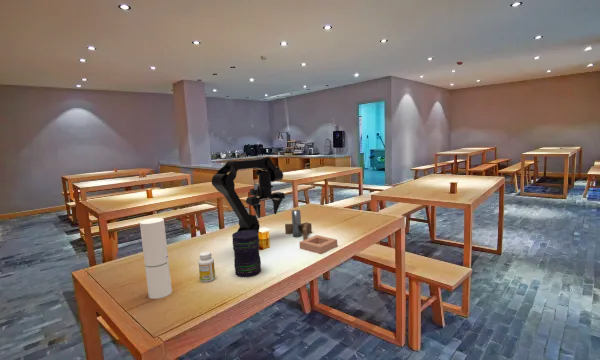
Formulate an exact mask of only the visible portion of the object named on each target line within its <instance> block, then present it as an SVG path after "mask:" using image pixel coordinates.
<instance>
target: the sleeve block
mask: <svg viewBox="0 0 600 360" xmlns="http://www.w3.org/2000/svg"><path fill="white" fill-rule="evenodd" d="M336 247H338V239H336V238H333V237H327V236H323V235H317V234H315V235H314V236H310V237H307V239H306V240H301V241H299V249H301V250H304V251H308V252H311V253H315V254H318V255H319V254H320V255H321V254H324V253H326V252H328V251H330V250H332V249H335V248H336Z"/></svg>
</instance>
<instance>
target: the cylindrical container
mask: <svg viewBox="0 0 600 360" xmlns="http://www.w3.org/2000/svg"><path fill="white" fill-rule="evenodd" d="M165 227H166V225H165V220H164V217H163V218H162V217H153V218H152V217H151V218H148V219H143V220H141V221H140V222H139V229H140V236H141V237H140V238H141V245H142V252H143V260H144V261H143V262H144V270H145V276H146V278H145V279H146V285H147V294H148V298H149V299H150V300H151V299H152V300H158V299H163V298H167V297H168V296H170V295H171V294H172V293H173V290H172V289H173V287H172V281H171V270H170V262H169V251H168V245H167V244H168V243H167V234H166V228H165Z"/></svg>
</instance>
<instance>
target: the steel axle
mask: <svg viewBox="0 0 600 360" xmlns="http://www.w3.org/2000/svg"><path fill="white" fill-rule="evenodd" d="M301 215H302V213H301V210H300V209H293V210H291V224H292V228H293V234H292V237H293V238H300V237H303V234H302V233H301V223H302V220H301V217H302V216H301Z"/></svg>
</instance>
